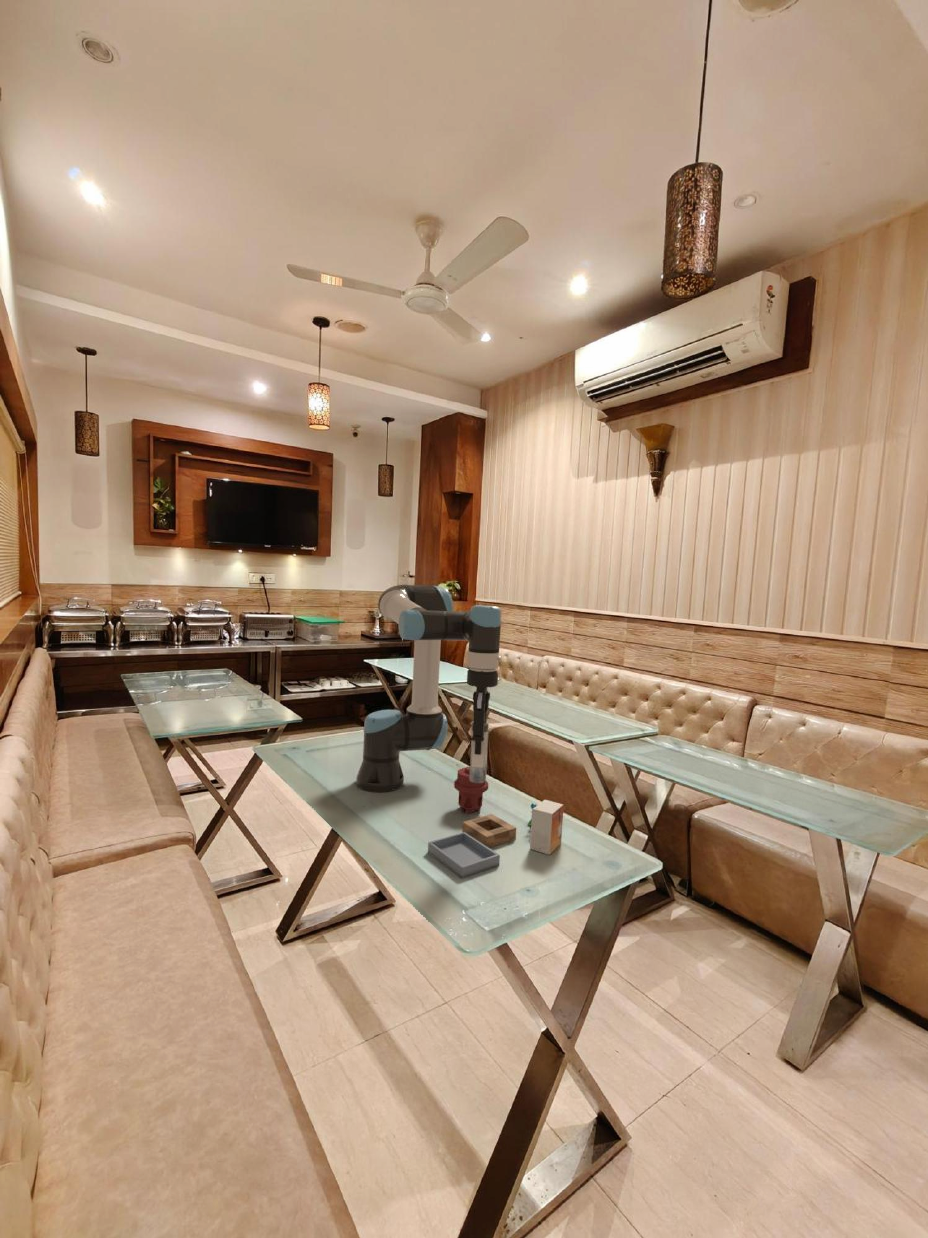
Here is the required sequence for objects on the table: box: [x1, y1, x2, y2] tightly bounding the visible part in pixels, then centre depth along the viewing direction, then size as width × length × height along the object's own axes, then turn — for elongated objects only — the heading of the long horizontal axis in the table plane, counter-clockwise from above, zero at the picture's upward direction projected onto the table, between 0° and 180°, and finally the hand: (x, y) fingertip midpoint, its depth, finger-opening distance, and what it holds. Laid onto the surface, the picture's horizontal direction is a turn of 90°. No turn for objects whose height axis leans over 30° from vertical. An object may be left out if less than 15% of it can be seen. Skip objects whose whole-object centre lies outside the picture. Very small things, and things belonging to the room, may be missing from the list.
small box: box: [529, 799, 565, 855], centre depth 139 cm, size 8×6×10 cm
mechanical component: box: [453, 765, 489, 815], centre depth 160 cm, size 12×10×10 cm
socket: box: [461, 813, 517, 849], centre depth 144 cm, size 10×10×3 cm
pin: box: [469, 722, 489, 783], centre depth 134 cm, size 4×4×14 cm
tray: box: [427, 832, 501, 879], centre depth 131 cm, size 14×11×2 cm
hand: (478, 763), depth 134 cm, fingers closed on pin, 4 cm apart
